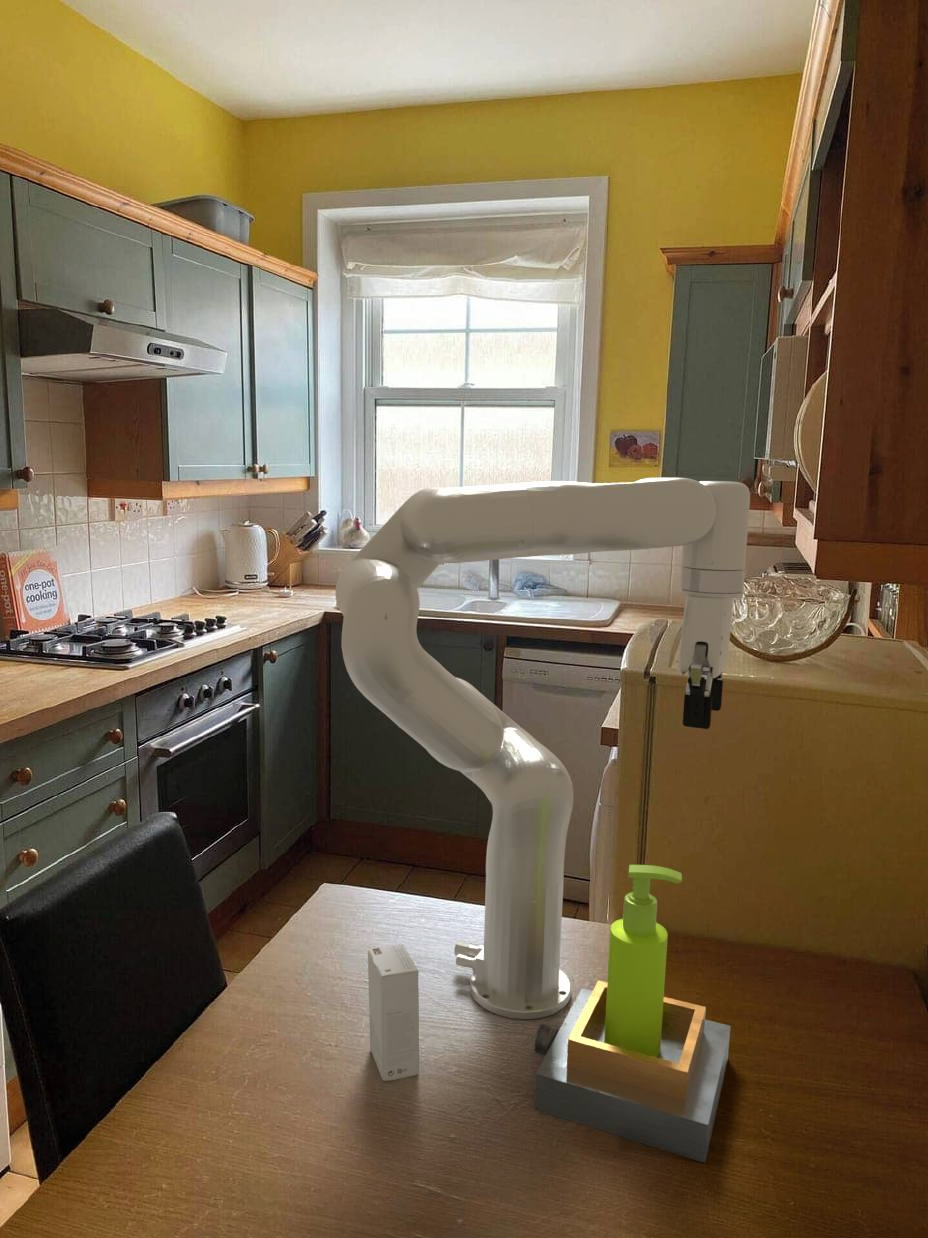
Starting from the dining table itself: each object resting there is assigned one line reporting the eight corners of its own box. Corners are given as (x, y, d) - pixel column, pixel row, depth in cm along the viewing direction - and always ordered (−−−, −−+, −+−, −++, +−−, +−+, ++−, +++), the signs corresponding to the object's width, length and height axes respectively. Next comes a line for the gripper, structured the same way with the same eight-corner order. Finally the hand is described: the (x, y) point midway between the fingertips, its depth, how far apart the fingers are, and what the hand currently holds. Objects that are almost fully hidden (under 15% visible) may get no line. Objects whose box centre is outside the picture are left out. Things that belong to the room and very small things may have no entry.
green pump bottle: (670, 1069, 91) (683, 884, 88) (602, 1058, 93) (612, 877, 89) (669, 1034, 97) (681, 860, 94) (605, 1025, 98) (614, 853, 95)
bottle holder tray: (511, 1102, 91) (514, 1040, 90) (560, 1014, 107) (563, 960, 106) (705, 1163, 84) (710, 1096, 83) (727, 1058, 99) (732, 1001, 98)
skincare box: (420, 1075, 95) (423, 970, 93) (380, 1084, 94) (381, 977, 92) (404, 1041, 101) (406, 941, 99) (366, 1049, 99) (367, 948, 98)
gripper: (692, 574, 119) (683, 699, 121) (667, 587, 103) (659, 730, 106) (750, 578, 116) (741, 706, 118) (735, 592, 100) (724, 739, 103)
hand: (702, 717), depth 112 cm, fingers open, 9 cm apart
